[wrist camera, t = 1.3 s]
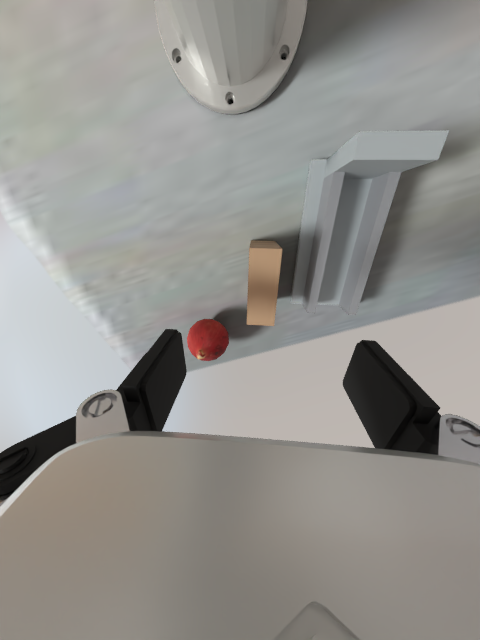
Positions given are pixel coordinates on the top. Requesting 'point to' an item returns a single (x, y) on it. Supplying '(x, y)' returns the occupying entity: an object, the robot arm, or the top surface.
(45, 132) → the top surface
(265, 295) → the door slab
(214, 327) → the onion
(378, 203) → the track
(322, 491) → the robot arm
